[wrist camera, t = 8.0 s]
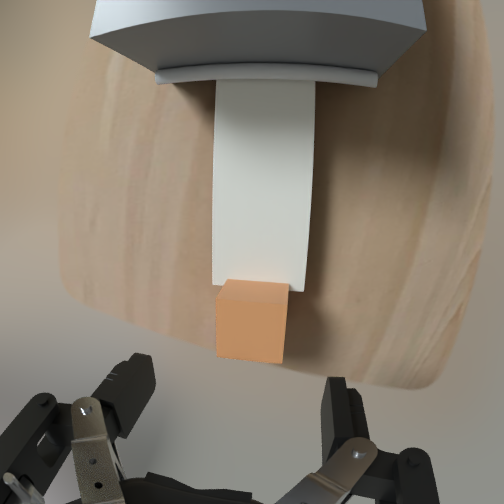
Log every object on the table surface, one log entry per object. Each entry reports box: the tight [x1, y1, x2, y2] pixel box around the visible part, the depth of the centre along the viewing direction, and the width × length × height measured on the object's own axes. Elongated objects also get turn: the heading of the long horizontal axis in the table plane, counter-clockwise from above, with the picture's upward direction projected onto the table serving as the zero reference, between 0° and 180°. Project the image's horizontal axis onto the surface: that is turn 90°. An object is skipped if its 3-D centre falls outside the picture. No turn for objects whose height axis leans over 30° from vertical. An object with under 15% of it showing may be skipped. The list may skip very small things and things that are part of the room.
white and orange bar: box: [212, 79, 315, 364], centre depth 18 cm, size 20×6×5 cm, turn 178°
